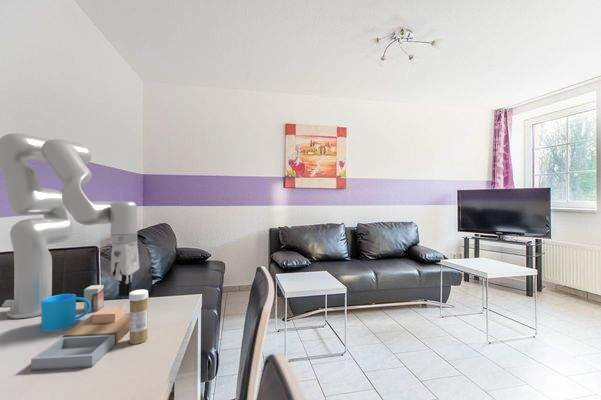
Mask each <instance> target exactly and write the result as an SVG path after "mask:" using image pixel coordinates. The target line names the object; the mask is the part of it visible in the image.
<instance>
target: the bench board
mask: <svg viewBox="0 0 601 400" xmlns="http://www.w3.org/2000/svg"><path fill="white" fill-rule="evenodd" d="M128 333H130V312H125V315H123V316H122V317H121V318H120V319H119V320H117V321H116V322H114V323H93V314H91V315H90V316H89V317H87V318H86V319H84V320H82V322H80V323H79V324H77V325H75V326H74V327H73V328H71V329H70V330H69V331H67V332H65V333H64V334H63V335H62V337H77V336H98V335H115V345H117V344H118V343H119V341H121V340H122V339H123V338H124V337H125V336H126V335H127V334H128Z"/></svg>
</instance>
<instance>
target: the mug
mask: <svg viewBox="0 0 601 400" xmlns="http://www.w3.org/2000/svg"><path fill="white" fill-rule="evenodd" d="M77 300H78V301H82V302H83V303H84V302H85V303H86V304H87V309H86V310H85V312H84V311H83V313H82V314H79V315H77ZM90 307H91V305H90V302H89V301H88V300H87V299H85V298H84V297H79V296H77V295H76V294H74V293H61V294H57V295H52V296H51V297H48V298H45V299H43V300H42V301H41V315H40V316H41V317H40V318H41V321H40V323H41V324H40V325H41V327H40V328H41V331H42V330H43V331H48V332H49V331H57V330H63V329H65V328H68V327H70V326H72V325H74V324H75V323H76V321H77V320H79V319H82V318H83V317H85V316H86V315H87V314H88V313H89V312H88V311H89V310H90Z"/></svg>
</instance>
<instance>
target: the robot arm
mask: <svg viewBox="0 0 601 400" xmlns="http://www.w3.org/2000/svg"><path fill="white" fill-rule="evenodd" d="M91 159H92V154H91V152H90V150H89V149H88V147H86V146H85V145H84V144H81V143H77V142H74V141H69V140H64V139H60V138H59V139H58V138H57V139H56V138H55V139H50V138H44V137H41V136H40V137H39V136H36V135H30V134H24V133H17V132H16V133H15V132H13V133H12V132H11V133H8V134H4V135H3V136H1V137H0V172H1V174H2V176H3V179H4V180H3V181H4V184H5V191H6V193H7V198H8V202H9V206H10V209H11V211H12V212H13V213H14V214H16V215H19V216H40V215H41V216H43V217H38V218H37V217H36V218H35V217H34V218H26V219H23V220H19V221H17V222H16V223H15V224H13V225H12V226H11V227H10V232H9V237H10V241H11V245H12V249H13V250H12V251H13V260H14V261H13V264H14V265H13V266H14V267H13V268H14V269H13V270H14V272H13V274H14V275H13V277H14V279H13V284H14V285H13V299H6V300H5V301H4V302H3V304H2V305H1V308H9V309H10V310H9V311H8V312H7V318H10V319H26V318H33V317H38V316H41V301H42V300H43V299H45V298H48V297H51V296H53V295H52V294H53V259H52V258H53V256H52V254H51V252H50V251H49V249H48V248H47V247H48V246H47V245H54V244H60V243H63V242H66V241H67V240H69V239H70V238H71V237H72V233H73V223H72V219H73V220H75V221H76V223H78V224H81V225H83V226H94V225H95V226H96V225H107V224H110V225H109V226H110V245H111V257H110V272H111V273H110V274H111V276H113V277H114V281H116V282H117V285H118V297H129V293H130V292H132V291H133V290H132V287H133V286H132V281H133V275H134V273H135V272H137V271H138V270H139V269H140V257H139V255H140V254H139V246H138V205H137V204H136V202H135V201H130V200H129V201H110V200H109V201H107V200H90V199H89V198H88V197H87V196H86V194H85V193H84V191H83V190H82V189H83V188H82V187H83V186H84V185H86V184H88V183H89V182H90V180H91V179H92V176H93V175H92V172H91V170H90V169H89V168H88V165H89V164H90V162H91ZM28 161H32V162H33V161H34V162H38V163H40V162H41V163H47V164H48V165H49V167H50V168H51V169H52V170H53V171H54V173H55V174H56V175H57V177H58V178H59V180H60V181H61V183H62V184H63V185H62V189H61V191H59V190H58V189H54V188H45V187H42V186H41V185H40V181H39V175H38V173H37V172H36V170H35V169H34V168H33V166H32V165H30V163H28ZM71 217H72V218H71Z"/></svg>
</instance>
